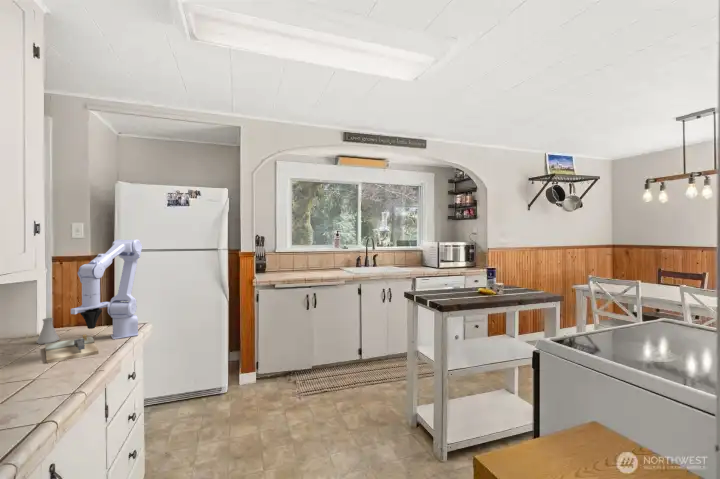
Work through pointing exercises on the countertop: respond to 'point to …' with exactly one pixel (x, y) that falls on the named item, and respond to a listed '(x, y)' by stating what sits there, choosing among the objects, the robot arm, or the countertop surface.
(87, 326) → the robot arm
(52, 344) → the lock board
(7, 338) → the countertop surface
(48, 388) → the countertop surface
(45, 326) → the flask
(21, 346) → the countertop surface
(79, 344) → the latch bar
